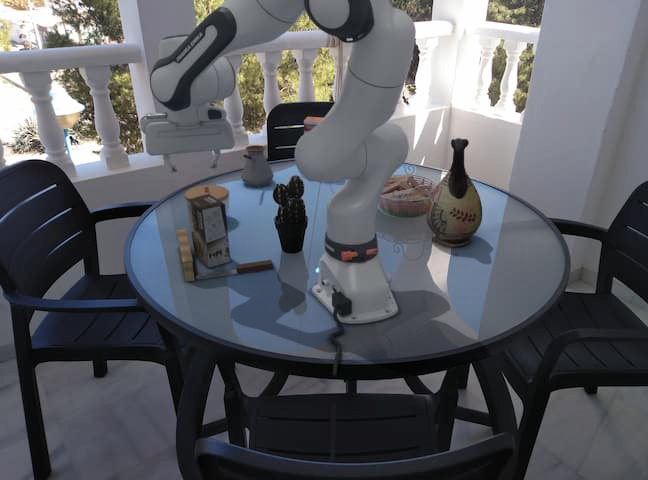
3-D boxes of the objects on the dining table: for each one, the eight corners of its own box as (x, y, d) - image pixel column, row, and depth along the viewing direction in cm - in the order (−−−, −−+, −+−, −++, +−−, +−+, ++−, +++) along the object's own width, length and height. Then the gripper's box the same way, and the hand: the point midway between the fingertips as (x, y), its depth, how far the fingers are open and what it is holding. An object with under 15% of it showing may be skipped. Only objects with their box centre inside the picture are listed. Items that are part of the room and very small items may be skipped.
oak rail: (195, 280, 131) (192, 260, 128) (185, 281, 130) (182, 261, 128) (188, 247, 146) (185, 228, 143) (179, 248, 145) (176, 229, 143)
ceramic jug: (425, 226, 161) (435, 126, 146) (477, 231, 158) (493, 130, 144) (420, 251, 147) (431, 143, 132) (478, 257, 144) (496, 148, 129)
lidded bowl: (206, 209, 169) (202, 176, 164) (239, 217, 164) (236, 183, 159) (179, 224, 159) (174, 189, 154) (213, 233, 154) (210, 197, 149)
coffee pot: (245, 177, 196) (242, 136, 188) (276, 178, 195) (274, 137, 187) (230, 199, 177) (225, 154, 170) (264, 200, 176) (261, 156, 169)
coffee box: (231, 261, 140) (226, 204, 132) (208, 268, 136) (201, 210, 128) (215, 248, 146) (209, 192, 138) (193, 255, 142) (185, 198, 134)
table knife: (273, 268, 137) (272, 263, 136) (196, 280, 131) (195, 274, 130) (271, 264, 138) (270, 259, 138) (195, 276, 133) (194, 270, 132)
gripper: (138, 117, 117) (149, 178, 123) (233, 111, 123) (238, 169, 129) (138, 111, 122) (148, 169, 129) (228, 105, 128) (233, 161, 135)
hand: (194, 169), depth 129 cm, fingers open, 8 cm apart
